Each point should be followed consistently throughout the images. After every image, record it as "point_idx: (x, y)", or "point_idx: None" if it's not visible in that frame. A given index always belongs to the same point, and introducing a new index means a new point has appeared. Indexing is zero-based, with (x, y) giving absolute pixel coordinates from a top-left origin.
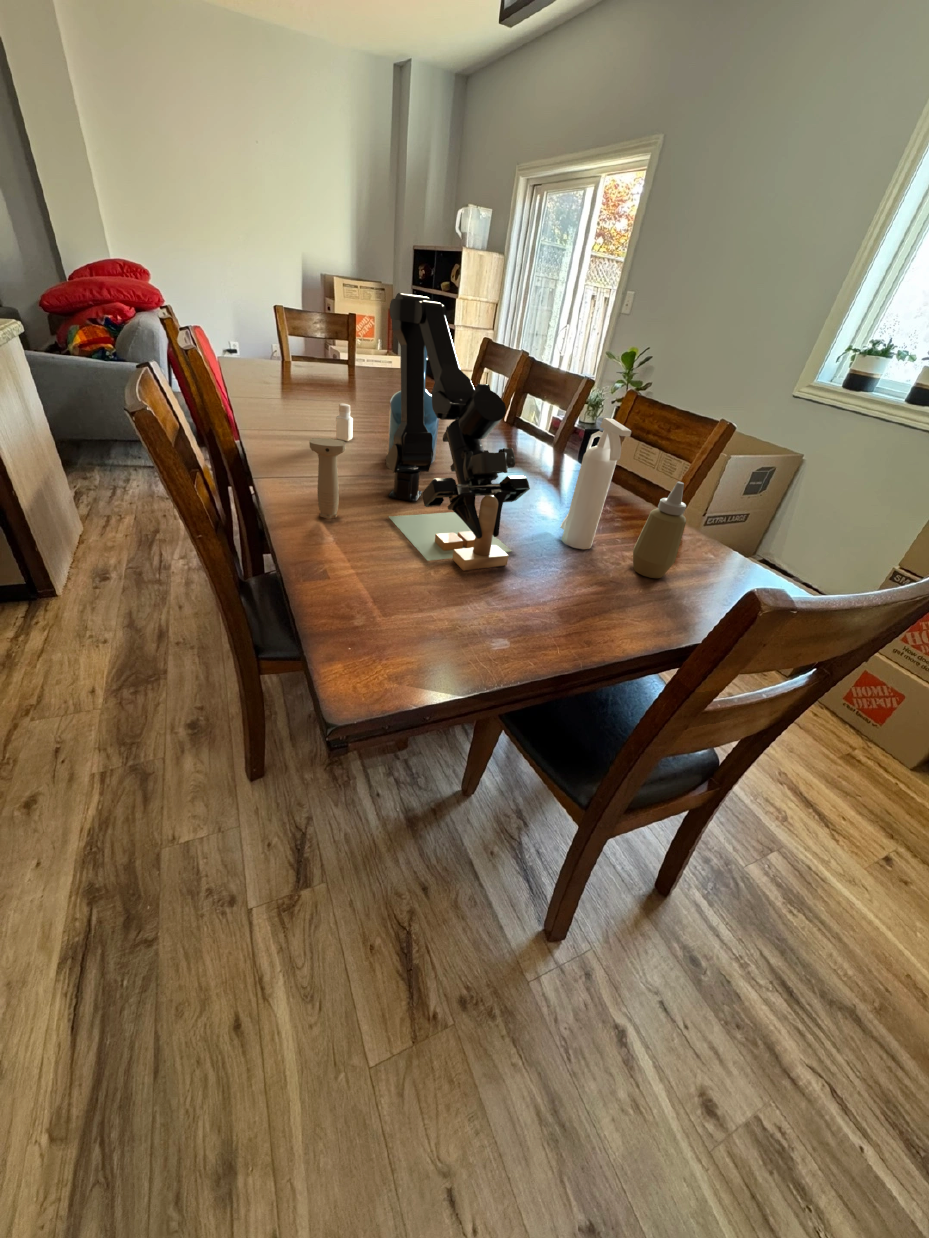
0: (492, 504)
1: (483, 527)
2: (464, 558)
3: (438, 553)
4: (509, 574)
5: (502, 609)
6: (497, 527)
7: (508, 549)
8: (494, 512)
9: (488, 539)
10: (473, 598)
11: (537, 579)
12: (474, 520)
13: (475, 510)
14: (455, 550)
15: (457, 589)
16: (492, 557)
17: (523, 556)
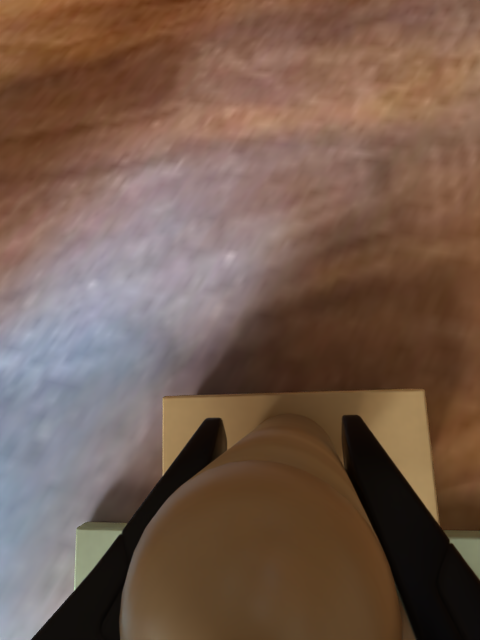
0: (275, 479)
1: (330, 452)
2: (418, 410)
3: None
4: (190, 359)
5: (347, 134)
6: (197, 452)
7: (83, 551)
8: (239, 452)
9: (281, 421)
10: (427, 214)
11: (104, 302)
12: (425, 514)
13: (423, 624)
14: (434, 515)
15: (470, 287)
16: (256, 393)
17: (43, 496)
